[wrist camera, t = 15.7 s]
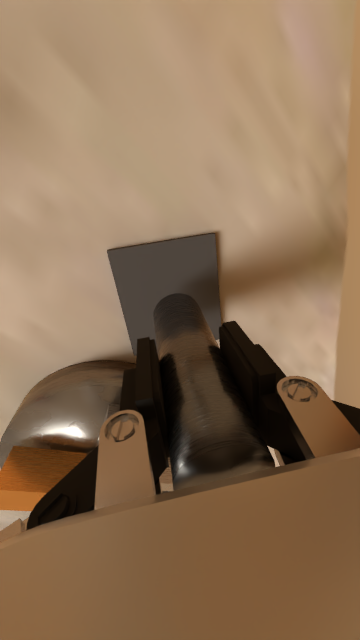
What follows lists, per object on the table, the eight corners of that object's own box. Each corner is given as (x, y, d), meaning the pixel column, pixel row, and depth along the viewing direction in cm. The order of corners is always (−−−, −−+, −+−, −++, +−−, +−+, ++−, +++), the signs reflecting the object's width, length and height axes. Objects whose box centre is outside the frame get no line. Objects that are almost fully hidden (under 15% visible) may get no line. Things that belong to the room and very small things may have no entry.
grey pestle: (155, 291, 15) (181, 449, 6) (204, 294, 15) (289, 443, 7) (151, 334, 16) (167, 511, 8) (196, 335, 17) (257, 501, 8)
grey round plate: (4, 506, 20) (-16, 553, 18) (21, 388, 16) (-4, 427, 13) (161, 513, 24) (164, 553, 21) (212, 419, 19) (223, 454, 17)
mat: (107, 250, 16) (106, 251, 16) (213, 232, 17) (215, 233, 16) (134, 352, 20) (134, 355, 19) (220, 336, 20) (222, 338, 20)
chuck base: (-18, 381, 19) (-44, 412, 16) (177, 344, 20) (184, 366, 17) (54, 495, 25) (43, 530, 23) (197, 463, 26) (203, 492, 24)
